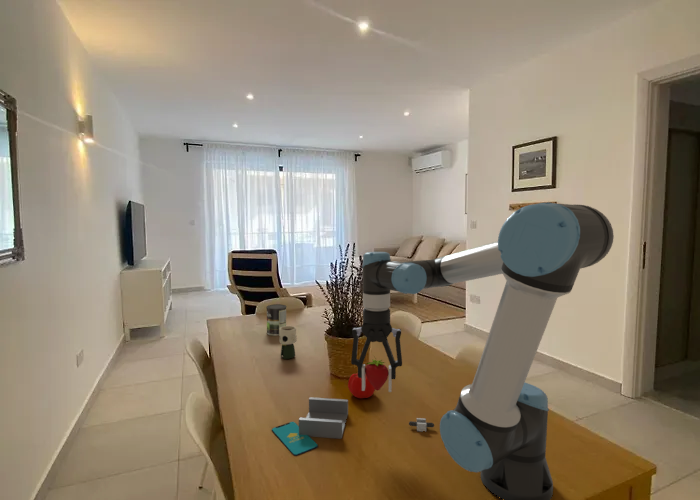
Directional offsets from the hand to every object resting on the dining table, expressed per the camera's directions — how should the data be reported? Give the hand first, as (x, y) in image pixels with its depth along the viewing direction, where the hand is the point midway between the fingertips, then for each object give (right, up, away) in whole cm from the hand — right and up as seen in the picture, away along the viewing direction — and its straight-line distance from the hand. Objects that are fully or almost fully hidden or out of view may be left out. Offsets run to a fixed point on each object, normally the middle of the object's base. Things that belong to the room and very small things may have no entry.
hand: (376, 389), depth 107 cm
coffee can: (-46, -5, +95) cm, 105 cm away
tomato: (-3, -11, +24) cm, 27 cm away
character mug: (-34, -8, +59) cm, 69 cm away
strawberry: (0, -1, 0) cm, 1 cm away
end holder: (-15, -12, +5) cm, 20 cm away
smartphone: (-23, -13, -2) cm, 27 cm away
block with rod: (+13, -13, +3) cm, 18 cm away
